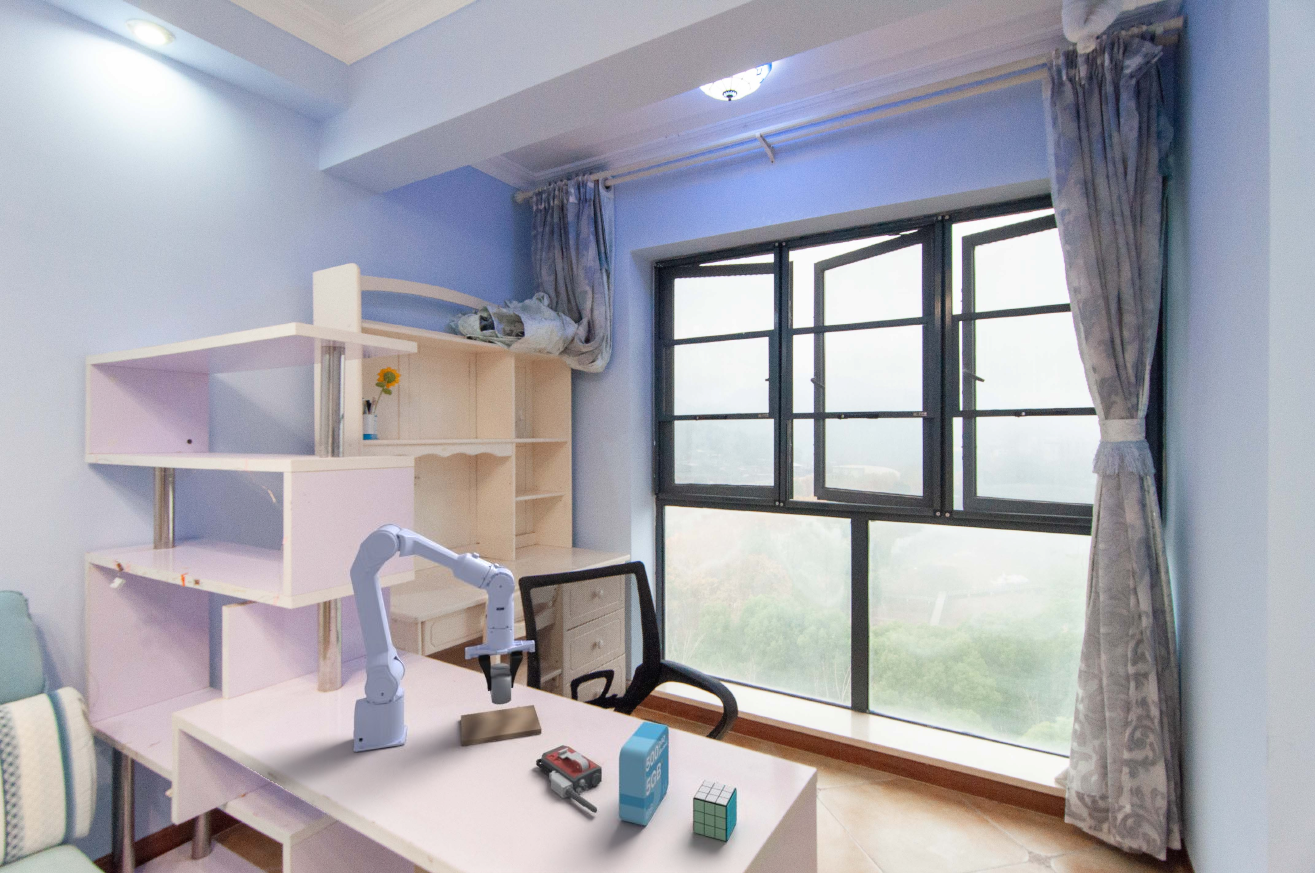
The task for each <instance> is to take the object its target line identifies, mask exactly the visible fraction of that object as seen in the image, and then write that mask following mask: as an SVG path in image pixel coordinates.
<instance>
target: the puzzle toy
mask: <svg viewBox="0 0 1315 873" xmlns="http://www.w3.org/2000/svg"><path fill="white" fill-rule="evenodd" d="M737 790H738V789H737V787H735V786H732V785H729V784H727V785H726V784H723V783H718V782H715V781H711V780H707V779H705V780H704V781H703V782H702V783H701V785H700V786H699V788H698V790H697V791H696V793H695V794H694V796H693V798H692V832H693V833H695V834H699V835H701V836H704V837H709V838H712V839H716V840H719V841H723V842H727V841H728V840H729V838H730V836H731V834H732V832H733V830H734V827H735V826H736V823H737V821H738V819H737V818H738V817H737V816H738V815H737V812H738V810H737V809H738V800H737V799H738V798H737V797H738V796H737V795H738V794H737V792H738V791H737Z"/></svg>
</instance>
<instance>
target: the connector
mask: <svg viewBox="0 0 1315 873" xmlns="http://www.w3.org/2000/svg"><path fill="white" fill-rule="evenodd" d="M489 694H490V700H491V703H492V704H493V705H504V704H505V705H506V704H508V703H510V702H511V701H512V688H511V673H510V664H507V663H505V662H500V663H499V662H498V663H494V664H491V691H489Z"/></svg>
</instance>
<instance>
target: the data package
mask: <svg viewBox="0 0 1315 873" xmlns="http://www.w3.org/2000/svg"><path fill="white" fill-rule="evenodd" d="M669 730H670V729H669V727H668V725H666V724H661V723H660V724H659V723H655V722H649V721H642V723H641V724H640V725H639V726H638V727H637V728H636V729H635V731H634V732H633V734H631V735H630V737H629V738H628V739H627V741H625V743H624V744H623V745H622V746H621V748H620V751H619V755H618V818H619V819H620V820H621V821H624V822H629V823H633V824H637V825H640V826H647V825H648V823H649V822H650V820H651V819H652V817H653V816H654V813H655V812H656V811H657V809H658V807H659V806H660V804H661V802H662V800H663V799H664V798H665V797H666V794H667V792H668V790H669V789H668V788H669V784H670V783H669V782H670V781H669V778H670V777H669V773H670V772H669V770H670V767H669V766H670V764H669V762H670V761H669V760H670V758H669V754H670V753H669V752H670V749H669V748H670V745H669V744H670V743H669V741H670V740H669V739H670V738H669V736H670V733H669V732H670V731H669Z"/></svg>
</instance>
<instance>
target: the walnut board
mask: <svg viewBox="0 0 1315 873" xmlns="http://www.w3.org/2000/svg"><path fill="white" fill-rule="evenodd" d="M460 724H461V725H460V727H461V729H460V730H461V732H460V733H461V746H462V747H463V746H465V747H466V746H471V745H475V744H482V743H483V744H484V743H488V742H489V743H490V742H494V741H495V742H496V741H501V740H502V741H503V740H507V739H515V738H520V737H521V738H522V737H526V736H534V735H541V734H542V726H541V723H540V720H539V716H538V713H537V710H536V707H535V705H534V704H531V705H524V706H517V707H509V708H504V709H503V708H501V709H496V710H490V711H489V710H488V711H483V712H476V713H475V712H474V713H469V714H462V715H460Z"/></svg>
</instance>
